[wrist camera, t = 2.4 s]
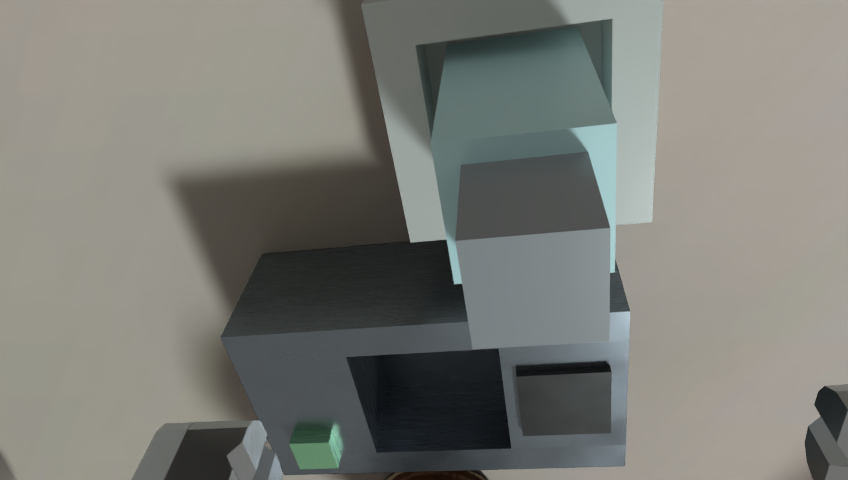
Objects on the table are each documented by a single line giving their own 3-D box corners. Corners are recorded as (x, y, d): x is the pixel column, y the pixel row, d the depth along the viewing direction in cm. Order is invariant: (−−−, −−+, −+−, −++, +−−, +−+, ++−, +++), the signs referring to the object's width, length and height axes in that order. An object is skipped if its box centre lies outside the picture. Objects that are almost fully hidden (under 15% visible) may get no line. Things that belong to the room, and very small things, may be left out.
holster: (641, -62, 18) (665, -41, 16) (634, 176, 23) (652, 222, 20) (376, -21, 20) (360, 4, 17) (418, 197, 24) (410, 242, 22)
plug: (577, 26, 19) (646, 195, 11) (580, 145, 21) (639, 361, 13) (446, 44, 20) (418, 216, 11) (462, 158, 22) (448, 370, 14)
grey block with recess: (605, 225, 24) (633, 324, 19) (605, 370, 28) (628, 479, 24) (261, 254, 26) (214, 349, 22) (311, 385, 31) (280, 487, 26)
